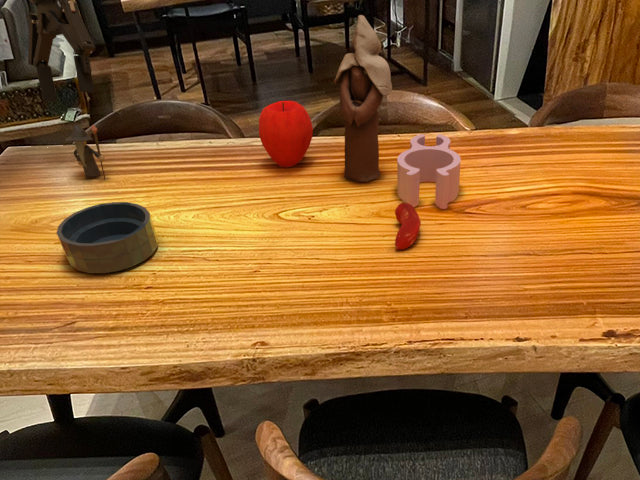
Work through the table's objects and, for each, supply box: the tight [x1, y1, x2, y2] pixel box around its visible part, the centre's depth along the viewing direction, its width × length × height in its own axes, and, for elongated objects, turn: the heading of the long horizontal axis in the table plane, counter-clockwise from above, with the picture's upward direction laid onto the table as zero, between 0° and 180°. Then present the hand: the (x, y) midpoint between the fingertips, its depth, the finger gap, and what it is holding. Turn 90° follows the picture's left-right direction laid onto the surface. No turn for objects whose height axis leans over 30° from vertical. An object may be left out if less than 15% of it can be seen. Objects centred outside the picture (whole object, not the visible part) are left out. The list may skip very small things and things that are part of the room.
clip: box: [396, 133, 462, 210], centre depth 127 cm, size 20×12×7 cm, turn 174°
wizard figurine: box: [64, 124, 106, 180], centre depth 134 cm, size 8×6×12 cm
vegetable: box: [394, 202, 422, 250], centre depth 113 cm, size 4×5×12 cm
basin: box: [56, 201, 159, 274], centre depth 111 cm, size 16×16×6 cm
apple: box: [258, 100, 314, 168], centre depth 135 cm, size 12×12×13 cm
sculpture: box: [333, 14, 393, 183], centre depth 124 cm, size 12×13×30 cm
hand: (68, 96), depth 129 cm, fingers open, 13 cm apart
